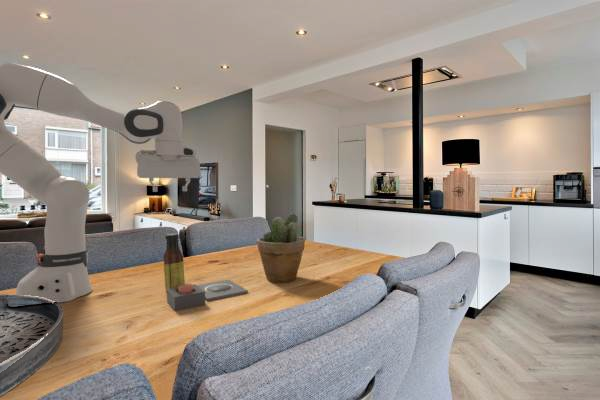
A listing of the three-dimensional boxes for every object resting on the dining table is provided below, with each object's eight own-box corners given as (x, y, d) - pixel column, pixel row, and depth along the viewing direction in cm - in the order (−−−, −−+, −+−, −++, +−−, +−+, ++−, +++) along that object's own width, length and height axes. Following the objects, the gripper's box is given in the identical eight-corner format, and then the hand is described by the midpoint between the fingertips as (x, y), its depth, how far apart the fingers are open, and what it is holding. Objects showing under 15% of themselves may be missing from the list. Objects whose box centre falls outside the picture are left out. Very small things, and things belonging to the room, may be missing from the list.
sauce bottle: (187, 289, 118) (186, 232, 117) (179, 295, 112) (178, 235, 111) (169, 289, 119) (168, 232, 118) (160, 294, 112) (159, 235, 111)
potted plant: (299, 287, 120) (299, 217, 119) (250, 284, 124) (249, 216, 123) (308, 273, 138) (308, 212, 137) (265, 271, 142) (264, 212, 141)
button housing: (174, 310, 98) (174, 297, 98) (167, 301, 106) (166, 289, 105) (205, 304, 103) (205, 291, 103) (195, 296, 111) (195, 284, 110)
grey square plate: (207, 301, 106) (207, 298, 106) (191, 288, 119) (191, 285, 119) (247, 292, 114) (247, 290, 114) (229, 281, 127) (228, 279, 127)
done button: (180, 299, 101) (180, 288, 101) (176, 295, 105) (176, 285, 105) (194, 296, 104) (194, 286, 104) (190, 293, 107) (190, 283, 107)
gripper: (134, 148, 108) (136, 192, 109) (201, 150, 116) (201, 191, 117) (135, 150, 114) (137, 191, 115) (198, 152, 122) (199, 190, 123)
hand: (170, 191), depth 116 cm, fingers open, 8 cm apart
